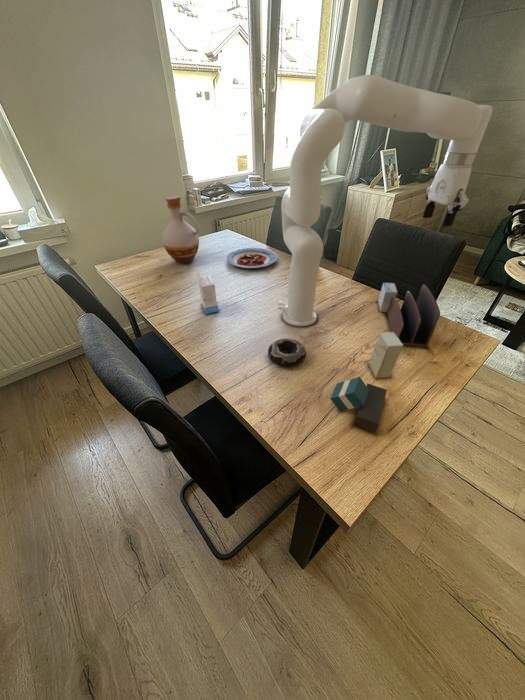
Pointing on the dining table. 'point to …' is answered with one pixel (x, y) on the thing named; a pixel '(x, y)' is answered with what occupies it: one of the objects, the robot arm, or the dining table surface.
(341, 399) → the teal carton
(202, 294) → the ink box
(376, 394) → the dark block
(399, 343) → the cosmetic box
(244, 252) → the ceramic plate
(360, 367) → the dining table surface
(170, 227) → the jug
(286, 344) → the donut
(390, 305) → the letter holder
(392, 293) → the medicine box
